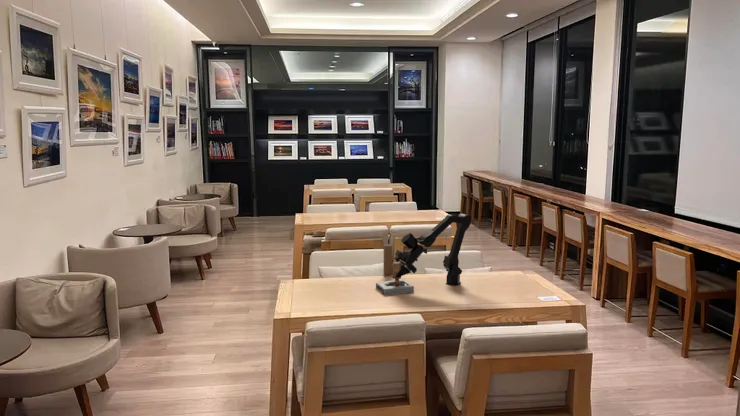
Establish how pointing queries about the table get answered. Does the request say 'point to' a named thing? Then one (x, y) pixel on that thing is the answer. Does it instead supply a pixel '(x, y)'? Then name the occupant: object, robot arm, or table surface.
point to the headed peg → (396, 272)
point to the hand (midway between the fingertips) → (394, 276)
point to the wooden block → (388, 260)
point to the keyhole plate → (389, 288)
